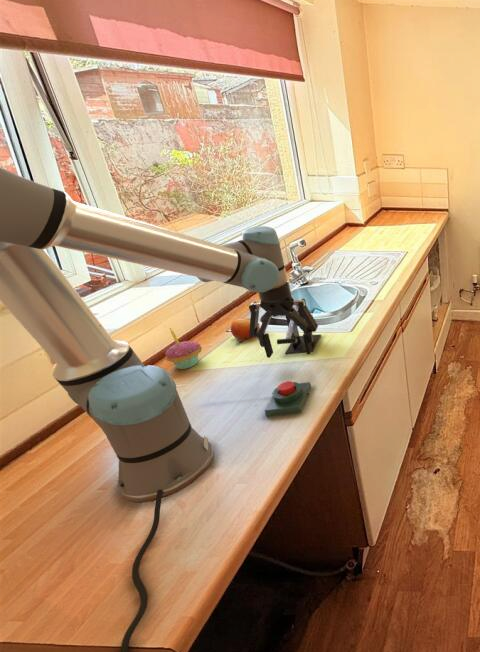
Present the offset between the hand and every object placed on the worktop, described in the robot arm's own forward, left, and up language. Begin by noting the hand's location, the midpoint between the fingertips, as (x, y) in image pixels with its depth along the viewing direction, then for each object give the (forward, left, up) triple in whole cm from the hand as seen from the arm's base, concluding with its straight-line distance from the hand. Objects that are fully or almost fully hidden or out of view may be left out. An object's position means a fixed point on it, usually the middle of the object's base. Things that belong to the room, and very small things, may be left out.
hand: (290, 353), depth 117 cm
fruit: (+20, +20, -5) cm, 29 cm away
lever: (+6, 0, +5) cm, 8 cm away
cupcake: (+6, +31, -5) cm, 32 cm away
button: (-17, -4, -1) cm, 17 cm away
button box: (-17, -4, -5) cm, 18 cm away
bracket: (+11, 0, -5) cm, 12 cm away
